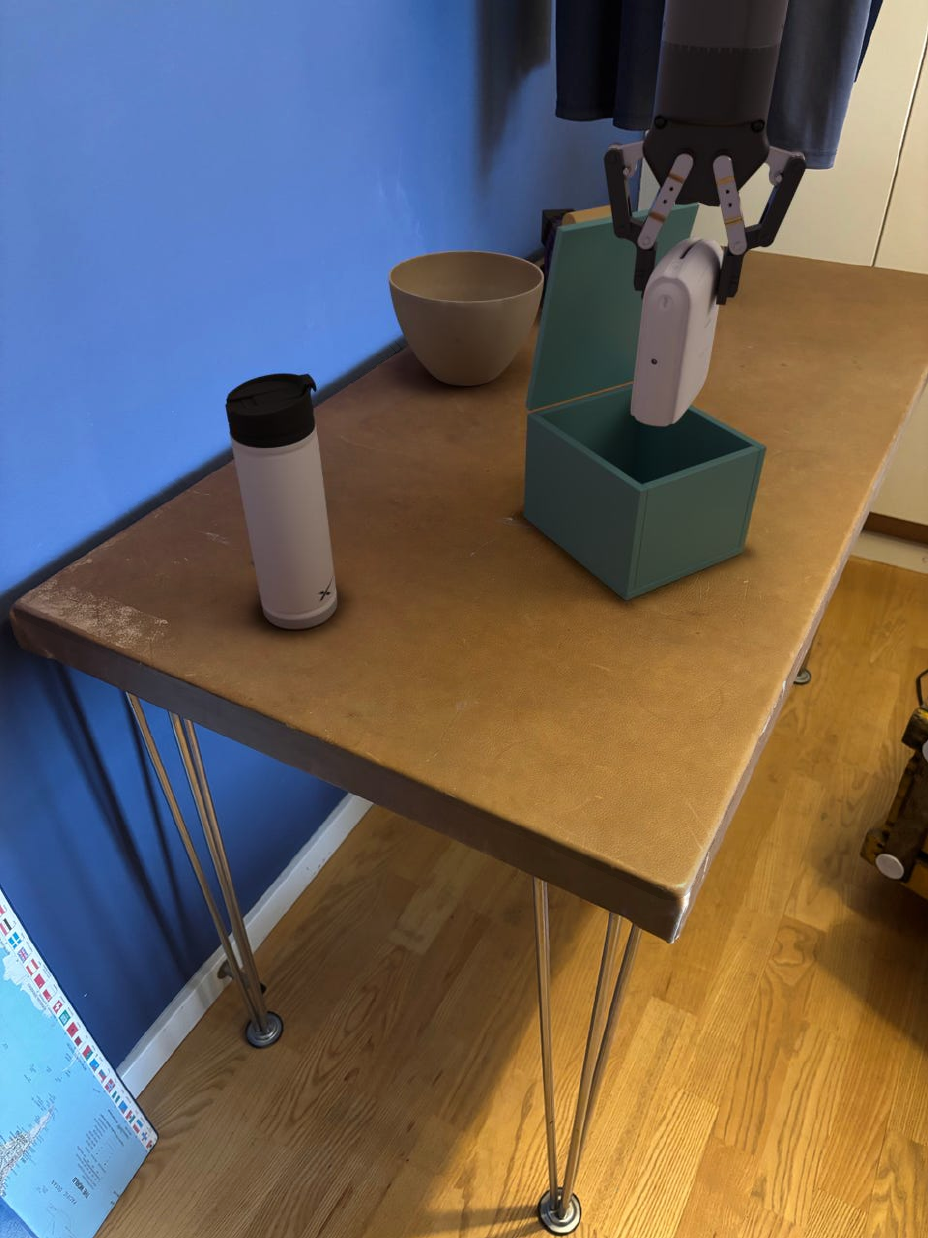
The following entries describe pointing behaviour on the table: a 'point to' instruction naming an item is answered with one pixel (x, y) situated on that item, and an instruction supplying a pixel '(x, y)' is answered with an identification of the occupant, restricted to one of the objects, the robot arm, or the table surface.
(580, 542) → the chest
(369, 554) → the table surface
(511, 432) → the table surface
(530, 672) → the table surface
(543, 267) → the energy cube
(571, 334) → the lid
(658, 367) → the photo printer
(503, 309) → the beige bowl
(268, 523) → the travel mug
